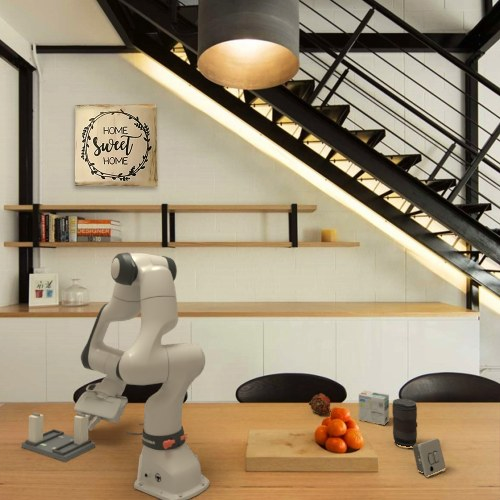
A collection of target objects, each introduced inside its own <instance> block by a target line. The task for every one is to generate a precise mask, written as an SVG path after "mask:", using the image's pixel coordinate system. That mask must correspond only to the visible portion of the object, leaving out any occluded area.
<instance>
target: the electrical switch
mask: <svg viewBox="0 0 500 500" xmlns="http://www.w3.org/2000/svg"><path fill="white" fill-rule="evenodd" d="M412 447H413V448H412V450H413V455H414V459H415V463H416V469H417V471H418V470H419V471H421V472H423V473H424V474H423V475H426V476H428V475H431V474H433V473H435V472H438V471H440V470H442V469H444V468H446V469H447V466H446V462H445V459H444V454H443V451H442V446H441V442H440V439H439V438H435V437H434V438H433V439H430V440H429V439H428V440H426V441H425V440H424V441H422V442H419V443H418V444H416V443H415V445H413V446H412Z"/></svg>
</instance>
